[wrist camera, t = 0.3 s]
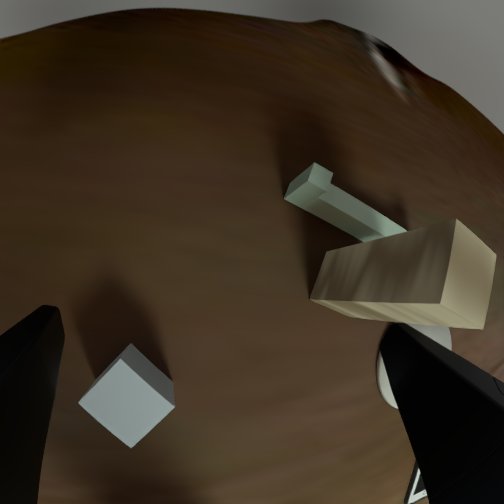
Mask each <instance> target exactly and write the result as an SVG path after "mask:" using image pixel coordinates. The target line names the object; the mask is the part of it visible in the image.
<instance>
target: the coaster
mask: <svg viewBox="0 0 504 504" xmlns="http://www.w3.org/2000/svg"><path fill="white" fill-rule="evenodd" d="M395 323H396V322H395ZM406 324H408V325H409V326H411V327H413V328H414V329H416V330H418V331H419V332H421V333H423V334H424V335H426V336H428V337H429V338H431V339H433V340H434V341H436V342H438V343H439V344H441V345H443V346H444V347H446V348H448V349H449V350H451V336H450V331H449V328H448V327H444V326H432V325H421V324H410V323H406ZM376 377H377V384H378V389H379V391H380V394H381V396H382V397H383V399H384V400H385V401H386V402H387V403H388V404H389V405H391V406H393V407H395V408H397V409H398V407H397V404H396V402H395V399H394V396H393V393H392V390H391V387H390V384H389V380H388V377H387V373H386V370H385V366H384V363H383V359H382V356H381V353H380V352H379V355H378V360H377V368H376Z"/></svg>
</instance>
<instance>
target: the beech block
mask: <svg viewBox="0 0 504 504" xmlns="http://www.w3.org/2000/svg"><path fill="white" fill-rule="evenodd" d="M495 261H496V254H495V253H494V252H493V251H492V250H491V249H490V248H489V247H488V246H486V245H485V244H484V243H483V242H482V241H481V240H480V239H479V238H478V237H477V236H476V235H475V234H473V233H472V232H471V231H470V230H469V229H468V228H467V227H466V226H464V225H463V224H462V223H461V222H460V221H459V220H457V219H453V220H449V221H445V222H441V223H438V224H434V225H430V226H426V227H422V228H418V229H414V230H410V231H407V232H403V233H399V234H395V235H391V236H387V237H383V238H379V239H375V240H371V241H367V242H363V243H359V244H355V245H351V246H347V247H343V248H339V249H335V250H331V251H326V254H325V257H324V260H323V263H322V266H321V268H320V271H319V274H318V277H317V280H316V282H315V285H314V288H313V291H312V293H311V296H310V300H312V301H314V302H317V303H319V304H321V305H324V306H326V307H328V308H330V309H333V310H335V311H337V312H340V313H342V314H344V315H347V316H349V317H355V318H364V319H372V320H381V321H391V322H404V323H410V324H421V325H432V326H444V327H456V328H470V329H483V327H484V323H485V318H486V314H487V309H488V304H489V299H490V294H491V288H492V282H493V275H494V268H495Z"/></svg>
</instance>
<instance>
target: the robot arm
mask: <svg viewBox="0 0 504 504" xmlns="http://www.w3.org/2000/svg"><path fill="white" fill-rule="evenodd" d="M64 340H65V334H64V328H63V324H62V319H61V314H60V310H59V308H58V307H56V306H50V305H42V306H41V307H39V308H38V309H36V310H35V311H33V312H32V313H31V314H29V315H28V316H27V317H25V318H24V319H22V320H21V321H20V322H18V323H17V324H16V325H14V326H13V327H11V328H10V329H9V330H7V331H6V332H5V333H3V334H2V335H1V336H0V504H37V500H38V490H39V482H40V474H41V467H42V460H43V454H44V448H45V443H46V437H47V432H48V427H49V422H50V418H51V413H52V409H53V404H54V400H55V395H56V390H57V383H58V376H59V369H60V363H61V357H62V351H63V346H64ZM380 353H381V356H382V359H383V363H384V366H385V370H386V373H387V377H388V380H389V384H390V387H391V390H392V393H393V396H394V399H395V402H396V404H397V407H398V410H399V412H400V415H401V418H402V420H403V423H404V426H405V429H406V432H407V434H408V437H409V440H410V443H411V446H412V449H413V452H414V455H415V458H416V461H417V464H418V467H419V470H420V473H421V477H422V480H423V483H424V486H425V490H426V493H427V496H428V500H429V504H504V383H503V382H502V381H500V380H498V379H497V378H495V377H493V376H491V375H490V374H488V373H487V372H485V371H484V370H482V369H480V368H479V367H477V366H476V365H474V364H472V363H471V362H469V361H467V360H466V359H464V358H462V357H461V356H459V355H458V354H456V353H454V352H453V351H451V350H449V349H448V348H446V347H444V346H443V345H441V344H439V343H438V342H436V341H434V340H433V339H431V338H429V337H428V336H426V335H424V334H423V333H421V332H419V331H418V330H416V329H414V328H413V327H411V326H409V325H408V324H406V323H404V322H396V323H392V324H391V325H390V326H389V328H388V330H387V332H386V334H385V335H384V337H383V339H382V341H381V343H380Z"/></svg>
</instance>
